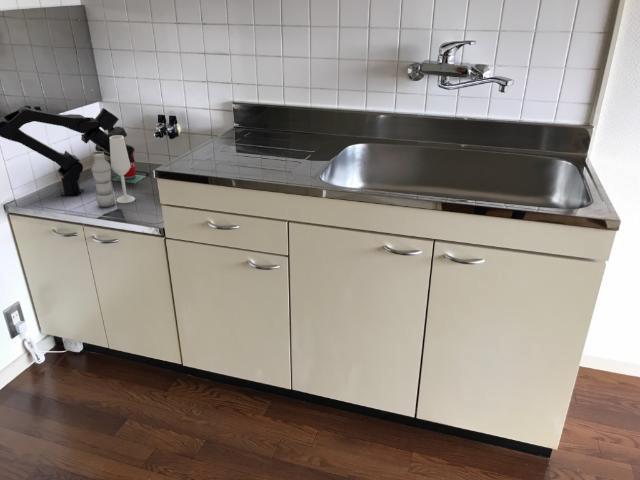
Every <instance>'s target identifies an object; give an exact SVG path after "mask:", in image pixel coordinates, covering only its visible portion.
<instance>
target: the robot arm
mask: <svg viewBox="0 0 640 480" xmlns="http://www.w3.org/2000/svg"><path fill="white" fill-rule="evenodd" d="M119 120H120V119H119V118H118V117H117V116H116V115H115V114H113V113H112V112H110V111H109V110H108V109H106V108H105V107H103V108H101V110H100V111H99V113H98V114H97V115H96V117H88V116H87V117H85V116H84V115H82V114H75V113H74V114H73V113H72V114H71V113H69V114H59V113H55V112H54V113H53V112H49V111H44V110H37V109H33V108H28V107H26V106H22V107H20V108H18V109H17V110H15V111H12V112H11V113H10V112H9V113H8V114H6V115H4V116H0V137H1V138H3V139H5V140H8V141H11V142H15V143H19V144H21V145H23V146H25V147H27V148H28V149H30V150H32V151H34V152H36V153H37V154H39V155H41V156H43V157H45V158H47V159H49V160H50V161H53V162H54V163H56V164H57V165H58V166H59V168H58V170H57V171H56V172H57V173H58V175H59V176H60V177H61V184H62V188H63V189H62V190H63V191H62V192H61V193H60V196H61V197H63V196H64V197H65V196H66V197H68V196H69V197H79V195H80V194H81V193H82V192H83V191H84V188H80V183H79V180H80V176H81V173H82V172H83V170H84V165H83V164H82V162H80V161H81V160H80V159H79V158H78V157H77V156H76V155H74V154H71V153H70V152H68V150H65V151H64V153H62V152H60V151H57V150H55V148H54V149H53V148H52V147H50V146H48V145H47V144H45V143H43V142H41V141H39V140H38V139H36V138H34V137H33V136H31V135H29V134H27V133H25V132H24V131H23V130H21V129H20V128H21V127H23V126H24V125H25V124H26V123H27V122H29V121H30V122H36V123H42V124H47V125H54V126H60V127H63V128H67V129H69V130H70V131H74V132H77V133H80V134H81V135H80V136H81V142H83V143H85V144H88V142H90V141H91V143H93V144H94V145H95V147H94V148H95V152H98V151H101V152H104V156H108V157H111V156H110V137H111V136H116V135H120V136H123V137H124V138H126V137H127V136H128V134H127V132H126V131H125V129H124V127H121V126H115V125H116V124H117V122H118V121H119ZM105 131H106V132H107V133H106V132H105ZM125 145H126V149H127V153H128V157H129V161H130V162H132V163H134V162H136V160H135V157H134V158H133V157H132V153H133V154H134V153H135V148H134V147H133V146H132V145H129V144H126V143H125Z"/></svg>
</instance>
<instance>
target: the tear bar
mask: <svg viewBox="0 0 640 480" xmlns="http://www.w3.org/2000/svg"><path fill="white" fill-rule="evenodd" d="M135 170H136V173H141V174H145V176H146V177H147V176H149V175H150V176H151V171H148V170H147V171H145V170H137V169H135ZM150 176H149V177H150Z"/></svg>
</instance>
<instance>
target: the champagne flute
mask: <svg viewBox="0 0 640 480" xmlns="http://www.w3.org/2000/svg"><path fill="white" fill-rule="evenodd" d="M125 141H126V140H125V137H123V136H120V135H116V136H111V137H110V156H109V157H110V166H111V171H113V172H114V173H115V174H117V176H118V175H121V187H122V195H120V196H119V197H117V199H115V202H117V203H120V204H126V203H132V202H134V201H135V200H136V198H135V197H134V196H132V195H130V194H127V189H126V188H127V187H126V182H125V180H124V175H125V174H126V173H127V172H128V171H129V169H130V161H129V157H128V153H127V149H126V145H127V144H126V142H125ZM125 144H126V145H125Z"/></svg>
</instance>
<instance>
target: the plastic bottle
mask: <svg viewBox="0 0 640 480" xmlns="http://www.w3.org/2000/svg"><path fill="white" fill-rule="evenodd" d="M105 158H106V155H104V152H101V151H94V152H92V159H93V161H92V162H91V163H92V164H91V166H90V170H91V173H92V176H93V179H94V184H95V185H94V186H95V201H96V204H97V205H98V207H103V208H107V207H111V206H114V205H115V203H116V195H115V192H114V189H113V185H112V175H111V172H112V168H111V163H109V162H108V160H106V159H105Z"/></svg>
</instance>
